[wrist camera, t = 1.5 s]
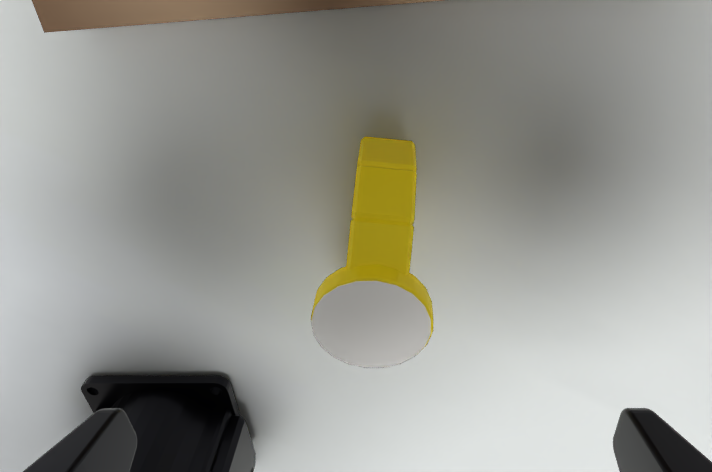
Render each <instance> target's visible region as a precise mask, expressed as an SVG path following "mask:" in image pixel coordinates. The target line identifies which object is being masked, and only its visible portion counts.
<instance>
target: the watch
mask: <svg viewBox="0 0 712 472" xmlns="http://www.w3.org/2000/svg"><path fill="white" fill-rule="evenodd" d="M416 170H417V166H416V149H415V144H414V143H413V142H412V141H407V140H397V139H386V138H376V137H364V138H363V139H361V142H360V149H359V156H358V162H357V170H356V179H355V188H354V196H353V205H352V214H351V218H352V220H351V223H350V233H349V243H348V254H347V264H346V267H342V268H340V269H338V270H337V271H335V272H334V273H332V274H331V275H329V276H328V277H327V278H326V279H325V280H324V281H323V283H322V284H321V285H320V287H319V288H318V290H317V293H316V297H315V301H314V305H313V310H312V315H311V324H312V329H313V334H314V336H315V338H316V339H317V341H318V343H319V344H320V346H321V347H322V348H323V349H324V350H326V351H327V352H328V353H329V354H330V355H332V356H333V357H334V358H337V359H339V360H341V361H343V362H345V363H347V364H350V365H355V366H360V367H364V368H384V367H389V366H393V365H398V364H401V363H403V362H405V361H407V360H409V359H411V358H413V357H415V356H416V355H417V354H418V353H419V352H420V351H421V350H422V349H423V348H424V347H425V346H426V345H427V343H428V341H429V339H430V337H431V335H432V332H433V310H432V301H431V298H430V296H429V294H428V292H427V289H426V287H425V286H424V285H423V284H422V283H421V282H420V281H419V280H418V279H417V278H416V277H415V276H414V275H412V274H411V273H409V271H410V261H411V251H412V241H413V231H414V227H413V225H412V224H413V223H414V218H415V198H416V177H417V174H416Z"/></svg>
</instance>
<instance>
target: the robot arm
mask: <svg viewBox="0 0 712 472" xmlns="http://www.w3.org/2000/svg"><path fill="white" fill-rule="evenodd" d="M81 390H82V393H83V394H84V396H85V398H86V400H87V402H88V404H89V405H90V407H91V409H92V411H93V415H91V416H90V417H89V418H88V419H86V420H85V421H84V422H83V423H82V424H80V425H79V426H78V427H77V428H75V429H74V430H73V431H72V432H71V433H69V434H68V435H67V436H66V437H64V438H63V439H62V440H61V441H60V442H58V443H57V444H56V445H55V446H54V447H52V448H51V449H50V450H49V451H47V452H46V453H45V454H44V455H43V456H41V457H40V458H39V459H38V460H36V461H35V462H34V463H33V464H32V465H30V466H29V467H28V468H27V469H25V470H24V471H23V472H253V471H254V467H255V460H254V458H255V450H254V447H253V444H252V440H251V437H250V434H249V431H248V427H247V424H246V421H245V420H244V418H243V417H242V416H241V415H240V412H239V409H238V406H237V402H236V399H235V396H234V393H233V390H232V386H231V383H230V382H229V380H227V379H226V378H224V377H222V376H91V377H88V378H87V379H86V381H85V382H84V383H83V385H82V387H81ZM613 448H614V453H615V457H616V460H617V464H618V467H619V471H620V472H712V462H711V461H710V460H709V459H708V458H706V457H705V456H704V455H703V454H702V453H701V452H699V451H698V450H697V449H696V448H695V447H694V446H693V445H691V444H690V443H689V442H688V441H687V440H686V439H685V438H683V437H682V436H681V435H680V434H679V433H678V432H677V431H675V430H674V429H673V428H672V427H671V426H670V425H668V424H667V423H666V422H665V421H664V420H663V419H662V418H660V417H659V416H658V415H657V414H656V413H655V412H653V411H652V410H650V409H646V408H626V409H624V410H623V411H622V412H621V415H620V418H619V421H618V424H617V427H616V431H615V434H614V437H613Z"/></svg>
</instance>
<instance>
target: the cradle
mask: <svg viewBox="0 0 712 472" xmlns="http://www.w3.org/2000/svg"><path fill="white" fill-rule="evenodd" d="M430 1H443V0H32V2H33V5H34V7H35V10H36V12H37V15H38V17H39V20H40V22H41V25H42V28H43V30H44V32H56V31H68V30H81V29H93V28H106V27H118V26H131V25H143V24H156V23H168V22H181V21H193V20H206V19H218V18H230V17H243V16H255V15H268V14H280V13H293V12H305V11H318V10H330V9H343V8H355V7H368V6H380V5H393V4H405V3H418V2H430Z"/></svg>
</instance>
